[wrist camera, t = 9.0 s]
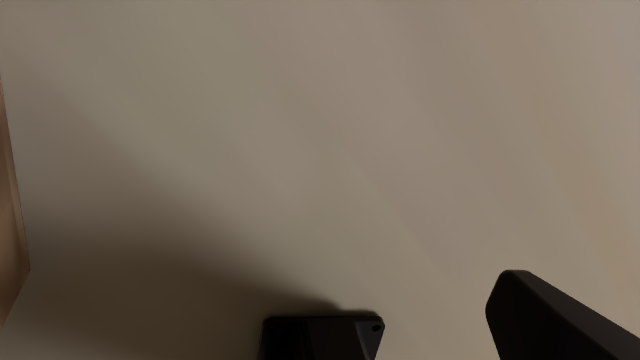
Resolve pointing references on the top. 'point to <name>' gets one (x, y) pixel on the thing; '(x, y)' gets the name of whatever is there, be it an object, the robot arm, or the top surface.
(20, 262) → the well block
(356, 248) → the top surface
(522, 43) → the top surface
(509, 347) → the robot arm
